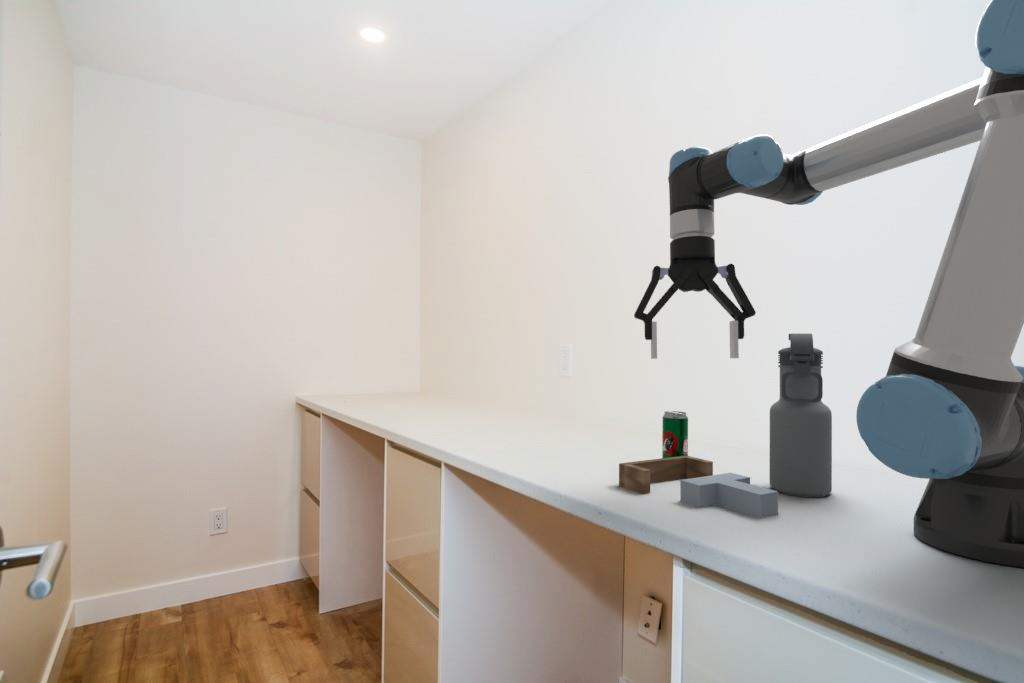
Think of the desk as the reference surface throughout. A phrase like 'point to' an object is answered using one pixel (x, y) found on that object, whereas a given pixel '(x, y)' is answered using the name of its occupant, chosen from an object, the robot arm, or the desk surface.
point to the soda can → (675, 434)
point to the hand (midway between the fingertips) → (693, 358)
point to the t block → (730, 494)
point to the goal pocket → (661, 471)
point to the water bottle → (801, 424)
